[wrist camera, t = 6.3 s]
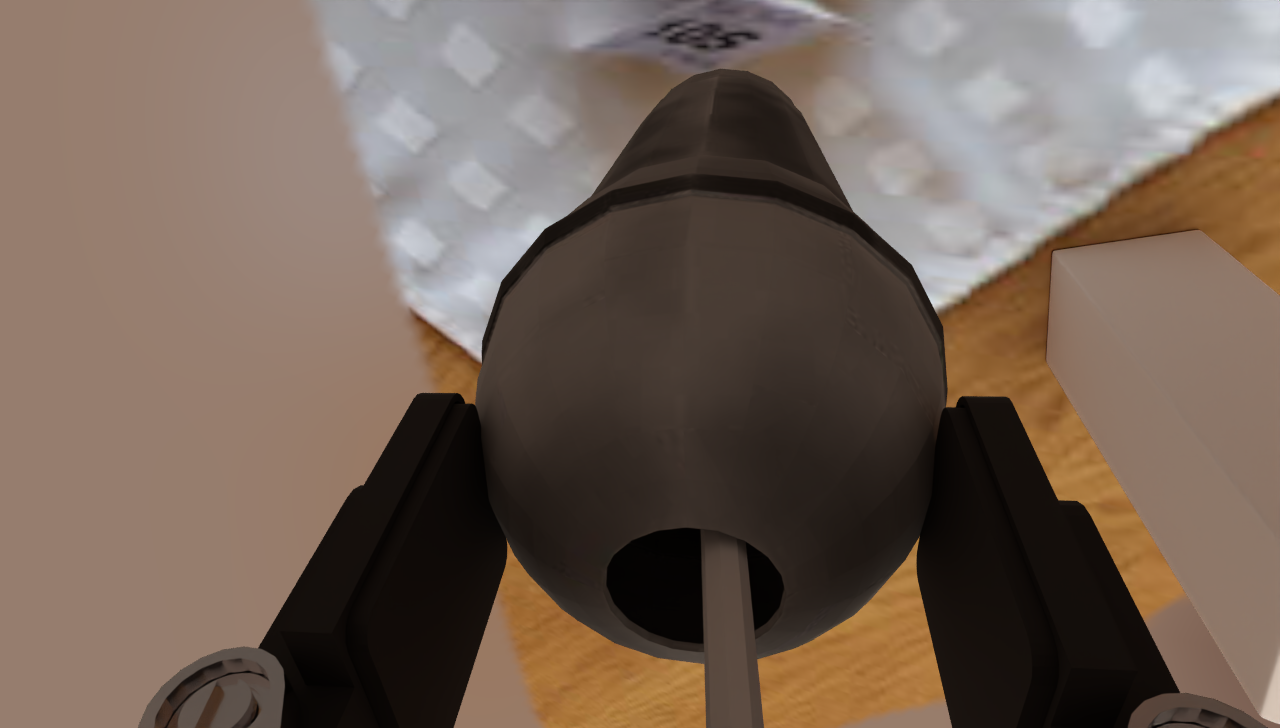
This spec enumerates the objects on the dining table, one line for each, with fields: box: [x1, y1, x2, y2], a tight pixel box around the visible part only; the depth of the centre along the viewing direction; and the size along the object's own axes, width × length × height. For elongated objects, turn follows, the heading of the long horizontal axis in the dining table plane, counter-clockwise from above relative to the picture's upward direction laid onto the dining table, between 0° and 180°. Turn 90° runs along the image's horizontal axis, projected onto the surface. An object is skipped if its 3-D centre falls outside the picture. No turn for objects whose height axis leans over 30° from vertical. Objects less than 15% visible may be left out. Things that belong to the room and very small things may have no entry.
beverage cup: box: [475, 69, 947, 728], centre depth 14 cm, size 7×7×20 cm
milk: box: [1046, 230, 1280, 724], centre depth 27 cm, size 6×6×22 cm
